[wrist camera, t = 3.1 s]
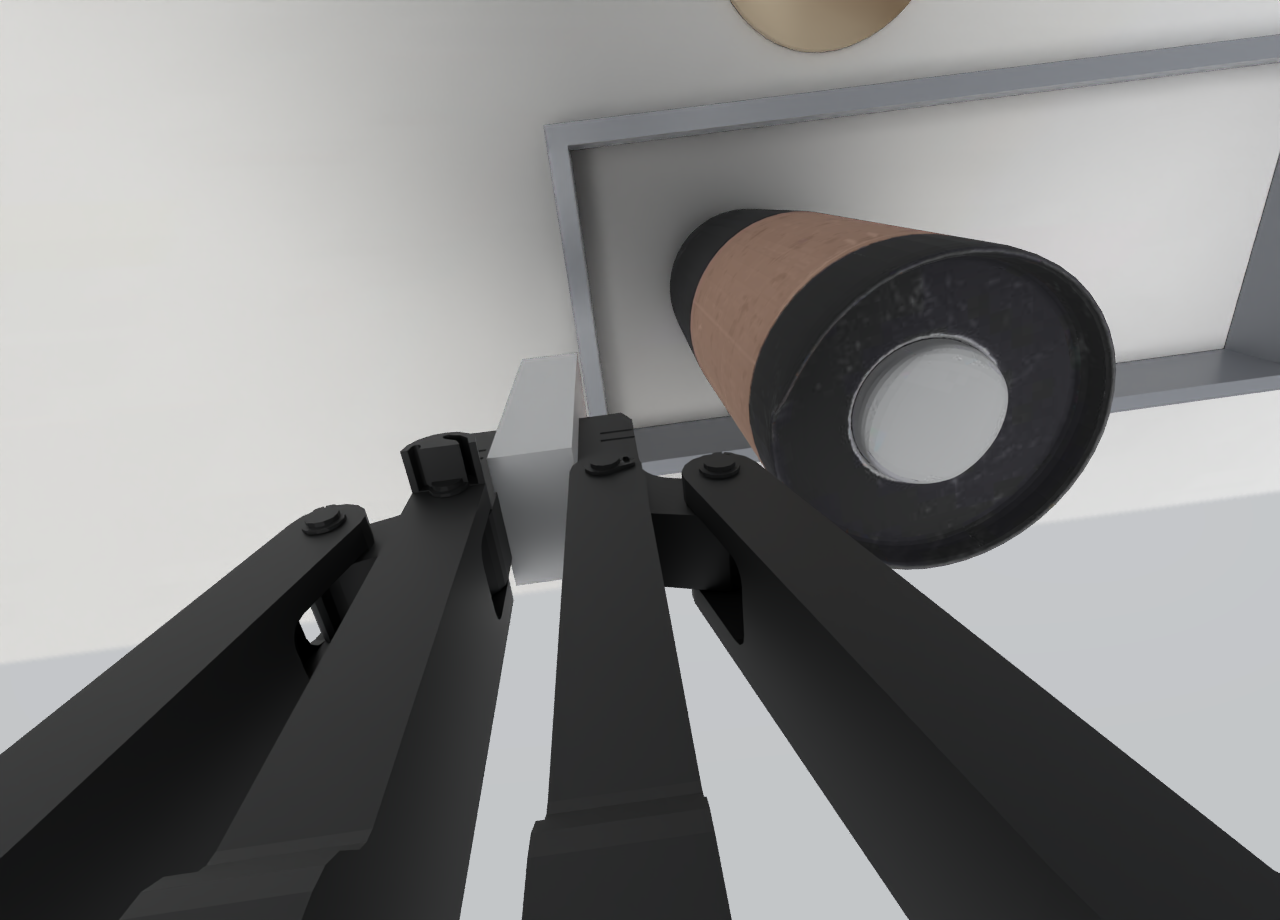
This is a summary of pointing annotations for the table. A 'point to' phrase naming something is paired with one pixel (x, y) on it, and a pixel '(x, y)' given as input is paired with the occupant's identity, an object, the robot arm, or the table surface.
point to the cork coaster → (818, 21)
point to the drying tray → (1276, 275)
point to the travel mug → (899, 373)
